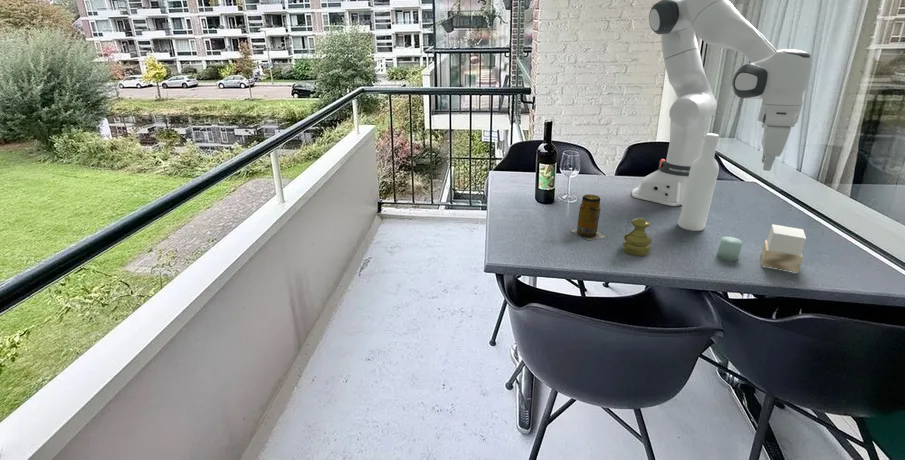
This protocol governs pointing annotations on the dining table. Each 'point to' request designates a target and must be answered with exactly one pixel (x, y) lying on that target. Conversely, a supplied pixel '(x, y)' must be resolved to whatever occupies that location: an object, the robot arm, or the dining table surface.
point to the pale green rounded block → (729, 248)
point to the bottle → (700, 187)
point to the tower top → (786, 240)
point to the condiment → (589, 218)
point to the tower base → (780, 259)
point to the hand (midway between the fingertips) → (765, 166)
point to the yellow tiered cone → (637, 238)
